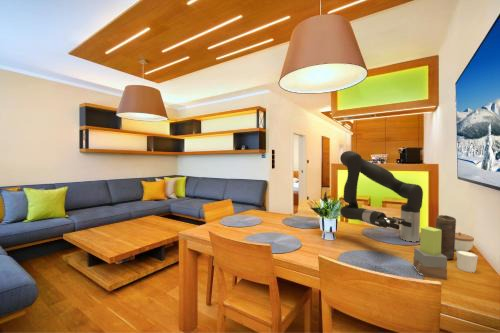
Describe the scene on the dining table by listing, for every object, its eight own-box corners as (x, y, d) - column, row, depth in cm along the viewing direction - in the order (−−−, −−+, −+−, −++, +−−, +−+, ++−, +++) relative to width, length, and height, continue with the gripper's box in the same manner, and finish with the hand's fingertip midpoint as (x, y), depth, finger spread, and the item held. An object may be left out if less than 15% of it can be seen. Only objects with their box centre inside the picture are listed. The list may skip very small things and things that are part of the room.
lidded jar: (459, 246, 124) (459, 229, 123) (479, 254, 113) (480, 235, 113) (440, 246, 123) (440, 229, 123) (458, 254, 113) (459, 236, 112)
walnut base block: (413, 266, 101) (413, 256, 101) (438, 270, 97) (438, 260, 97) (419, 275, 93) (419, 265, 92) (446, 280, 89) (447, 269, 89)
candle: (455, 257, 109) (456, 216, 108) (453, 262, 104) (455, 219, 103) (435, 252, 115) (436, 214, 114) (432, 257, 110) (434, 216, 109)
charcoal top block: (414, 257, 99) (414, 247, 99) (434, 259, 98) (435, 249, 97) (424, 266, 91) (424, 255, 91) (446, 268, 90) (447, 257, 90)
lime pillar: (420, 250, 96) (420, 227, 96) (427, 249, 98) (428, 226, 97) (433, 255, 91) (434, 231, 91) (440, 253, 93) (441, 229, 93)
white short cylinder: (465, 265, 101) (466, 250, 101) (482, 273, 94) (482, 256, 94) (451, 265, 101) (451, 250, 101) (466, 273, 94) (467, 257, 94)
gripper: (364, 212, 116) (395, 220, 101) (383, 209, 122) (415, 216, 107) (364, 226, 116) (394, 236, 102) (383, 223, 122) (414, 232, 107)
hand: (405, 226), depth 104 cm, fingers open, 8 cm apart
